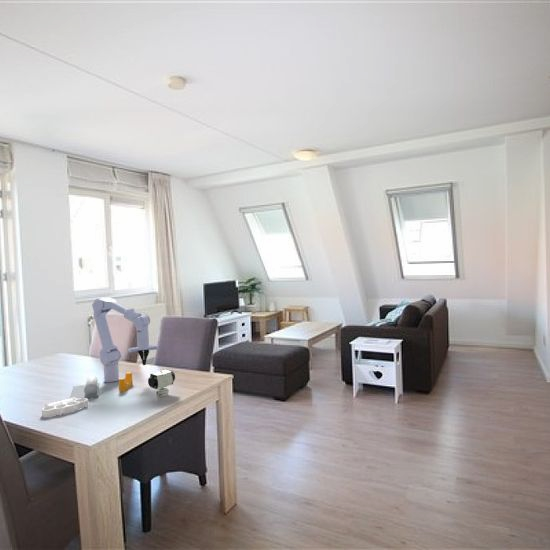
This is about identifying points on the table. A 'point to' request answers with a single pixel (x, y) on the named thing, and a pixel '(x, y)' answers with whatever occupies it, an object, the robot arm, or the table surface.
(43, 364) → the table surface
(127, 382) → the orange notched block
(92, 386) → the duct pipe
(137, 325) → the robot arm
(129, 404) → the table surface
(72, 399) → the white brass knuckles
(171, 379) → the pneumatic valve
